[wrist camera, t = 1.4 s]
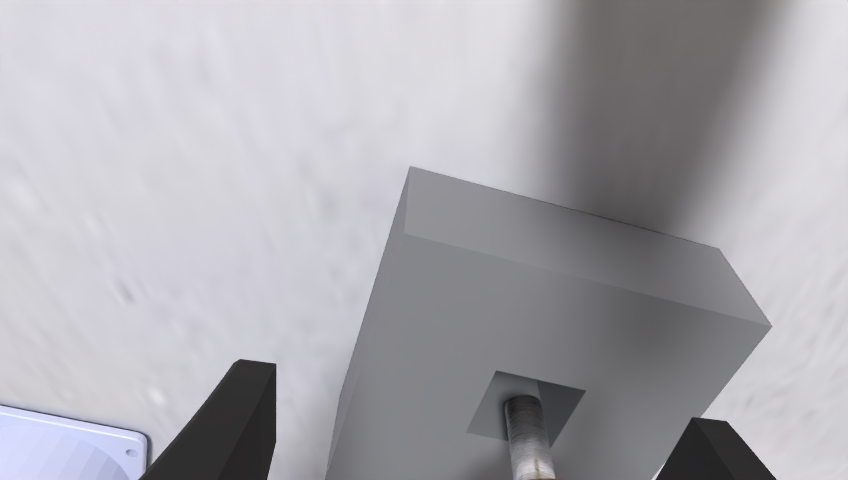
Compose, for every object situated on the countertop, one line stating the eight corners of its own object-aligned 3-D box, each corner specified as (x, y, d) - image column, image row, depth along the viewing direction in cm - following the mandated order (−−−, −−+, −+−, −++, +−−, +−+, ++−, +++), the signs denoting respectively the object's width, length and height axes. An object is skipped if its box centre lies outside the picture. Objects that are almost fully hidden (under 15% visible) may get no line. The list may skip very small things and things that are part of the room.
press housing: (585, 448, 27) (606, 535, 24) (339, 396, 25) (324, 481, 22) (718, 249, 21) (772, 326, 18) (409, 166, 20) (403, 233, 16)
